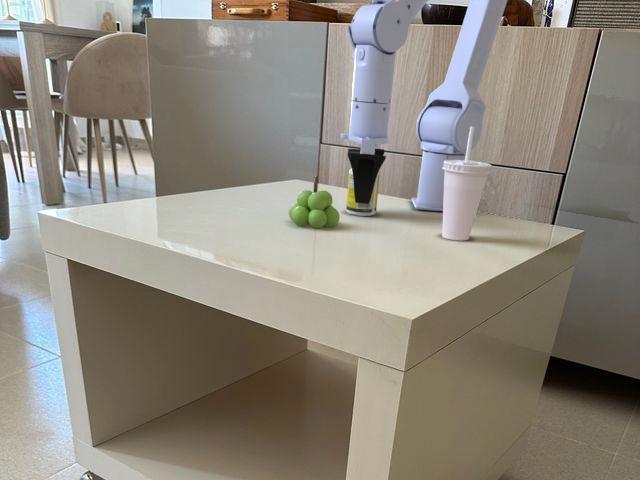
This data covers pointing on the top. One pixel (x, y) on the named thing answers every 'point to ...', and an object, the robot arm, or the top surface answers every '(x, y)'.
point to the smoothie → (462, 193)
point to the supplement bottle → (361, 208)
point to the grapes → (314, 208)
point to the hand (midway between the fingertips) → (362, 200)
